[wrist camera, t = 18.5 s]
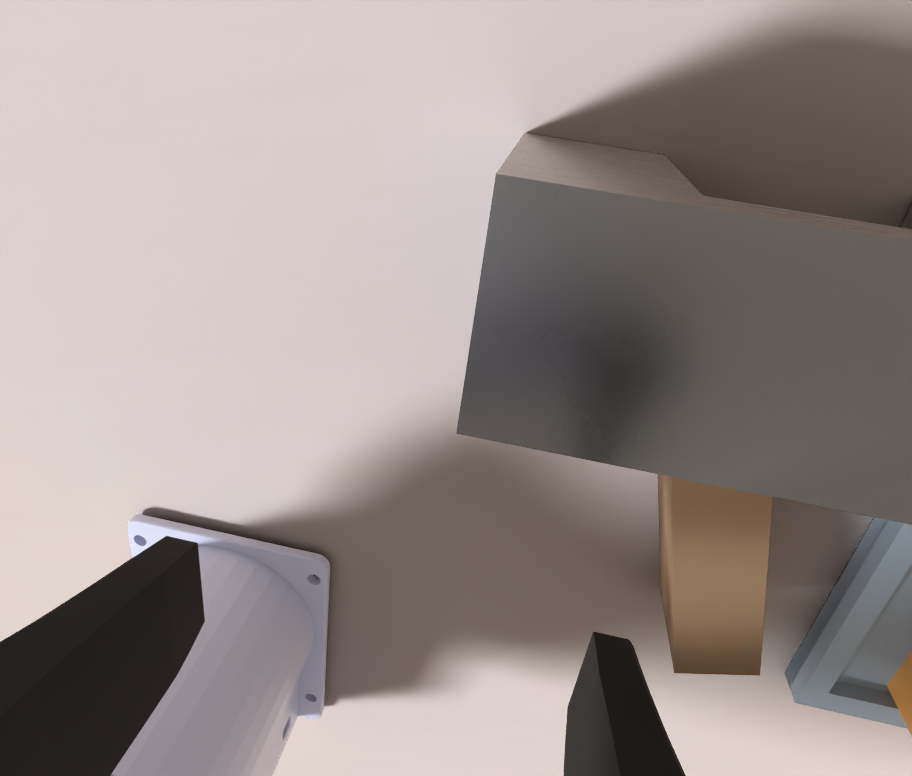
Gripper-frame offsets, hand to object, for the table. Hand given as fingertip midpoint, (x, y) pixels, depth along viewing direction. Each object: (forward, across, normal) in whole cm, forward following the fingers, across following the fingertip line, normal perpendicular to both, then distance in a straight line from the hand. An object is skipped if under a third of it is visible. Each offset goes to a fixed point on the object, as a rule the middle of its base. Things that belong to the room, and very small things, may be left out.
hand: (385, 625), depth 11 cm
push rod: (+10, -7, 0) cm, 12 cm away
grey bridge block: (+9, -7, -5) cm, 13 cm away
